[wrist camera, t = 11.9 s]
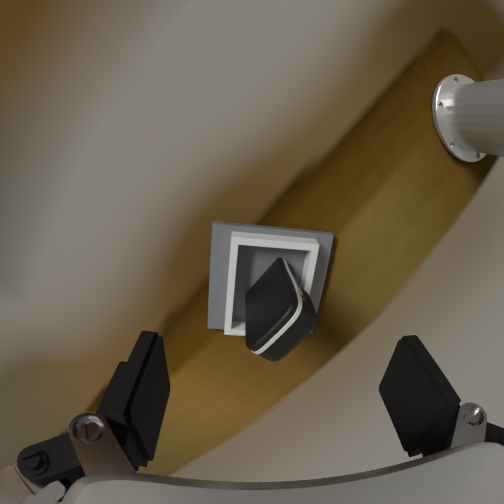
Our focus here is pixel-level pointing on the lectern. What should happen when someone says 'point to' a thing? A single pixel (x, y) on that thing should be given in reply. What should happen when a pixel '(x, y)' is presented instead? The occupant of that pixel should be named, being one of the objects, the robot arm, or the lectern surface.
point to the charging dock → (260, 266)
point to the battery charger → (277, 312)
